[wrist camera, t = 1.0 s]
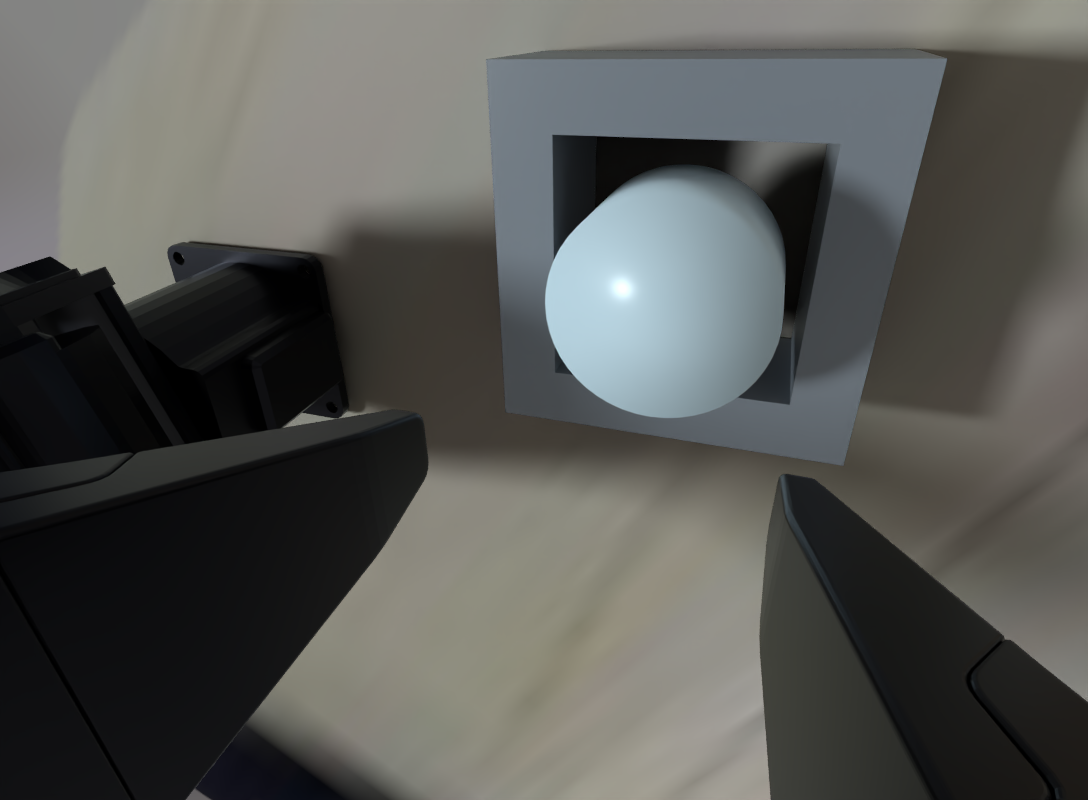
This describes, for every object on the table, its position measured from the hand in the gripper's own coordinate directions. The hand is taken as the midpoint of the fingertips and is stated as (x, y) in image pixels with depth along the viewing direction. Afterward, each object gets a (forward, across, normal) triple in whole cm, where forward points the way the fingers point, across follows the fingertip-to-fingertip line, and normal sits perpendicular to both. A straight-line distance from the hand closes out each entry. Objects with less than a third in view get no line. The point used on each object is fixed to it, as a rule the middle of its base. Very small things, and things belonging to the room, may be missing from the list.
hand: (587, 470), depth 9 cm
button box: (+12, 0, 0) cm, 12 cm away
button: (+8, 0, 0) cm, 8 cm away
